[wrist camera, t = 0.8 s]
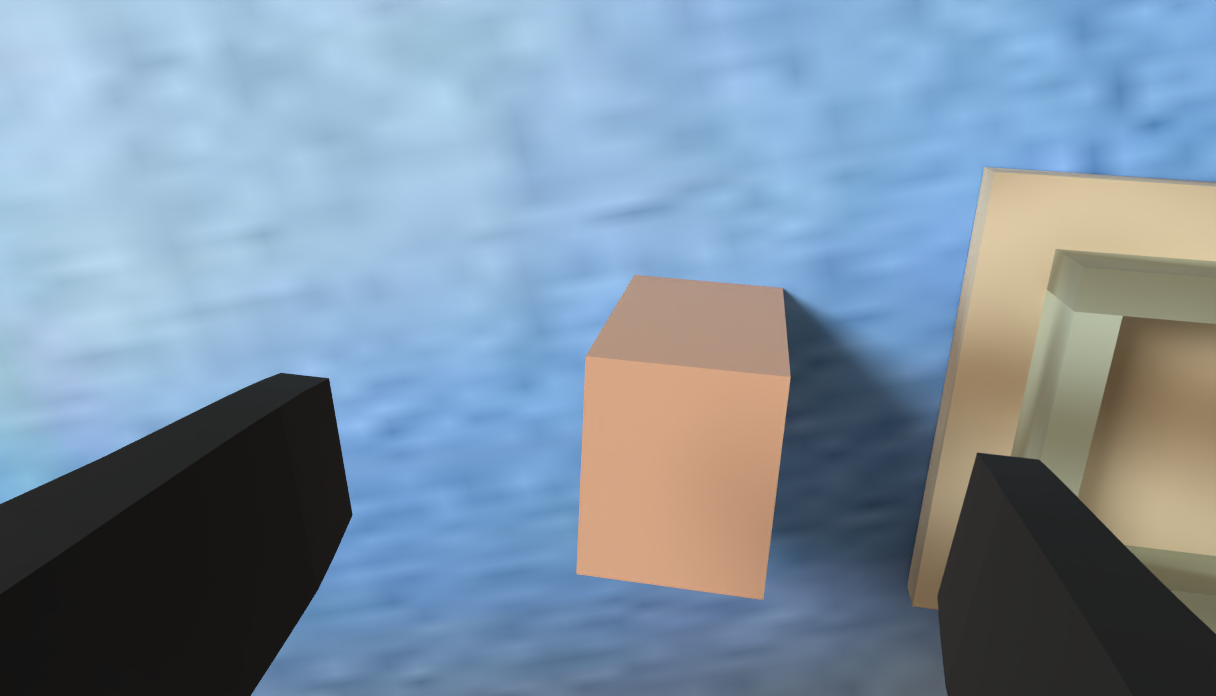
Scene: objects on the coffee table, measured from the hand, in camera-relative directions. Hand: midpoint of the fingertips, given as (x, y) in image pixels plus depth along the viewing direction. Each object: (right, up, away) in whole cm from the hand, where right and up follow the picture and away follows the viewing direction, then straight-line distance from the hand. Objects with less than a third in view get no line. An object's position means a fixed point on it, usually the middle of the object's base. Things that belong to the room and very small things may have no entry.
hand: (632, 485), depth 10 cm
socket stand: (+14, 0, +13) cm, 19 cm away
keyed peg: (+2, +1, +15) cm, 15 cm away
